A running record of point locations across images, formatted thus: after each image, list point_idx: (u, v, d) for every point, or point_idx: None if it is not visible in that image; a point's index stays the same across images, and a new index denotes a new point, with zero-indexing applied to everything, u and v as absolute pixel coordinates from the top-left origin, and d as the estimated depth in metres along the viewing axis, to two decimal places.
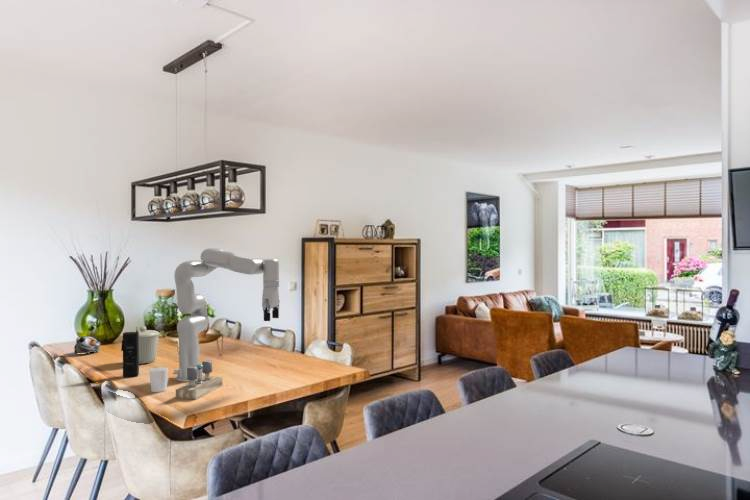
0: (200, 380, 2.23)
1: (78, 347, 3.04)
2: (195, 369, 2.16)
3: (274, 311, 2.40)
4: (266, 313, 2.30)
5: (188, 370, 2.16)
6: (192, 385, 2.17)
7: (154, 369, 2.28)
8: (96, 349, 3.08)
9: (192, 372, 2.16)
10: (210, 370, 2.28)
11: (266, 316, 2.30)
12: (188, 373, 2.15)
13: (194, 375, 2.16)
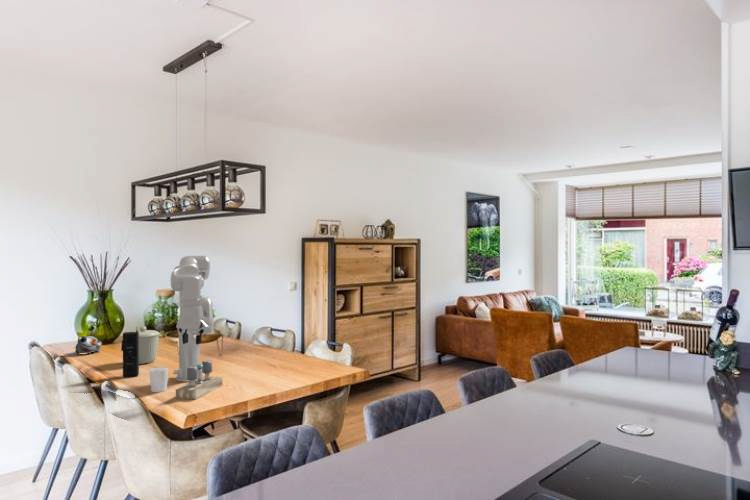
0: (200, 380, 2.23)
1: (79, 347, 3.04)
2: (195, 369, 2.16)
3: (185, 336, 2.18)
4: (200, 335, 2.17)
5: (188, 370, 2.16)
6: (192, 385, 2.17)
7: (154, 369, 2.28)
8: (97, 349, 3.09)
9: (192, 372, 2.16)
10: (210, 370, 2.28)
11: (200, 338, 2.17)
12: (188, 373, 2.15)
13: (194, 375, 2.16)
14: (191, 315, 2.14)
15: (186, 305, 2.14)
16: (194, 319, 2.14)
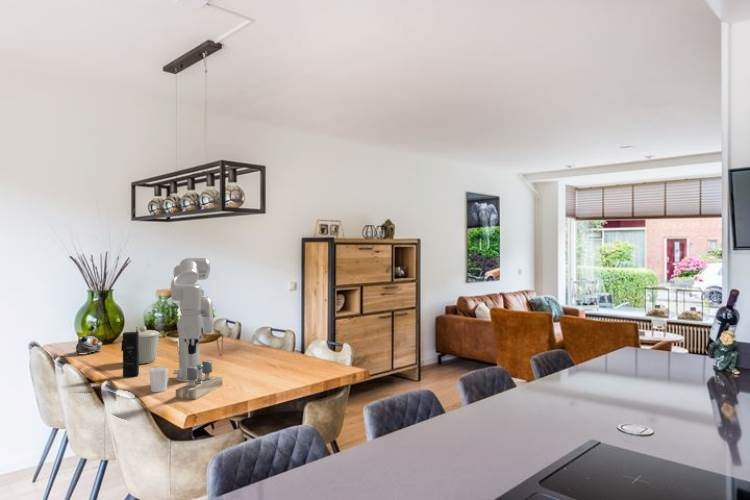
0: (200, 380, 2.23)
1: (80, 347, 3.05)
2: (195, 369, 2.16)
3: None
4: (195, 345, 2.17)
5: (188, 370, 2.16)
6: (192, 385, 2.17)
7: (154, 369, 2.28)
8: (98, 349, 3.09)
9: (192, 372, 2.16)
10: (210, 370, 2.28)
11: (195, 348, 2.17)
12: (188, 373, 2.15)
13: (194, 375, 2.16)
14: (191, 324, 2.14)
15: (186, 314, 2.14)
16: (194, 328, 2.14)
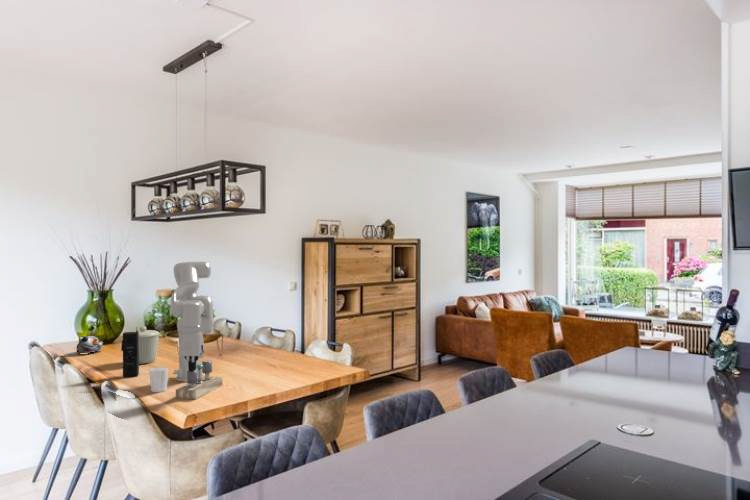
0: (200, 380, 2.23)
1: (81, 347, 3.05)
2: (195, 372, 2.16)
3: None
4: (195, 362, 2.17)
5: (188, 373, 2.16)
6: None
7: (154, 369, 2.28)
8: (98, 348, 3.10)
9: (192, 375, 2.16)
10: (210, 370, 2.28)
11: (195, 365, 2.17)
12: (188, 376, 2.15)
13: (194, 379, 2.16)
14: (191, 342, 2.14)
15: (186, 332, 2.14)
16: (194, 346, 2.14)
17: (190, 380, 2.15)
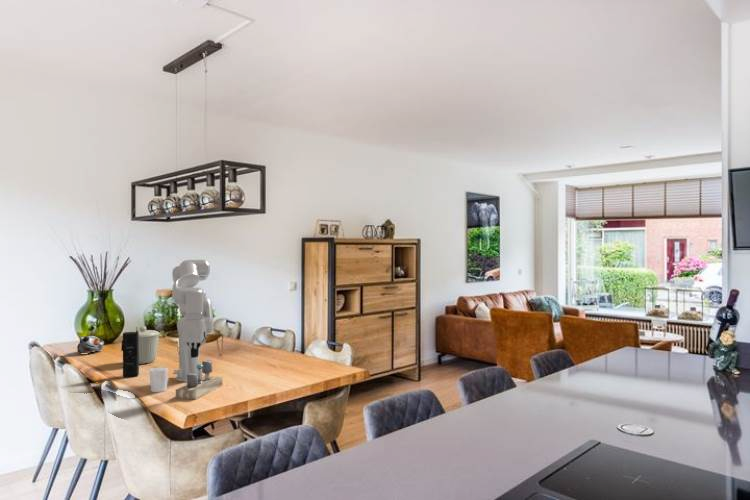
0: (200, 380, 2.23)
1: (82, 346, 3.05)
2: (195, 376, 2.16)
3: None
4: (198, 348, 2.20)
5: (188, 377, 2.16)
6: None
7: (154, 369, 2.28)
8: (99, 348, 3.10)
9: (192, 379, 2.16)
10: (210, 370, 2.28)
11: (197, 352, 2.20)
12: (188, 380, 2.16)
13: (194, 382, 2.16)
14: (194, 329, 2.17)
15: (189, 319, 2.16)
16: (197, 333, 2.16)
17: (190, 384, 2.15)
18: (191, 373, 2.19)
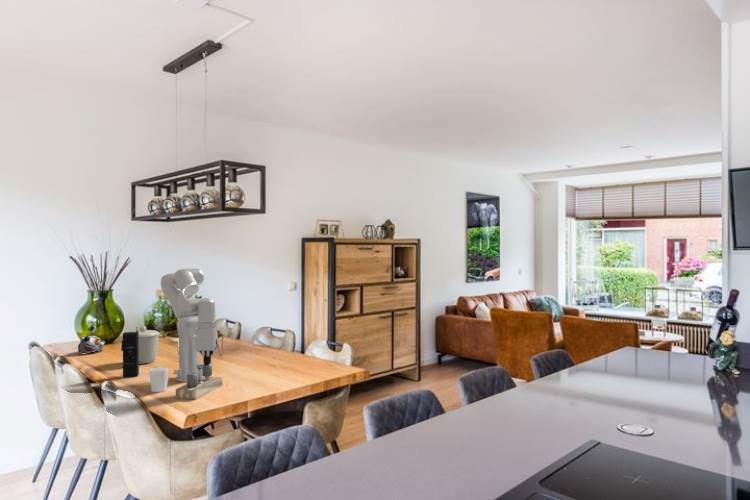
0: (200, 380, 2.23)
1: (82, 346, 3.06)
2: (195, 376, 2.16)
3: None
4: (210, 356, 2.29)
5: (188, 377, 2.16)
6: None
7: (154, 369, 2.28)
8: (100, 348, 3.11)
9: (192, 379, 2.16)
10: (210, 373, 2.28)
11: (210, 359, 2.29)
12: (188, 380, 2.16)
13: (194, 382, 2.16)
14: (206, 337, 2.26)
15: (202, 327, 2.26)
16: (209, 341, 2.26)
17: (190, 384, 2.15)
18: (191, 373, 2.19)
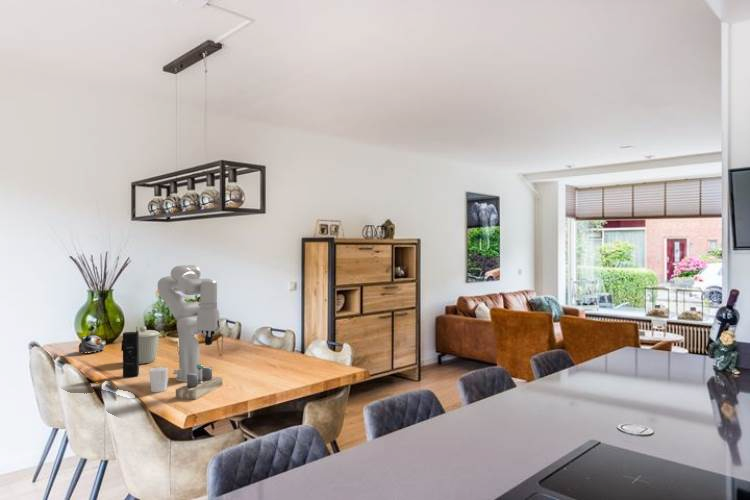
0: (200, 380, 2.23)
1: (83, 346, 3.06)
2: (195, 376, 2.16)
3: None
4: (211, 336, 2.30)
5: (188, 377, 2.16)
6: None
7: (154, 369, 2.28)
8: (101, 348, 3.12)
9: (192, 379, 2.16)
10: (210, 376, 2.28)
11: (211, 339, 2.30)
12: (188, 380, 2.16)
13: (194, 382, 2.16)
14: (208, 317, 2.27)
15: (203, 308, 2.27)
16: (211, 321, 2.27)
17: (190, 384, 2.15)
18: (191, 373, 2.19)
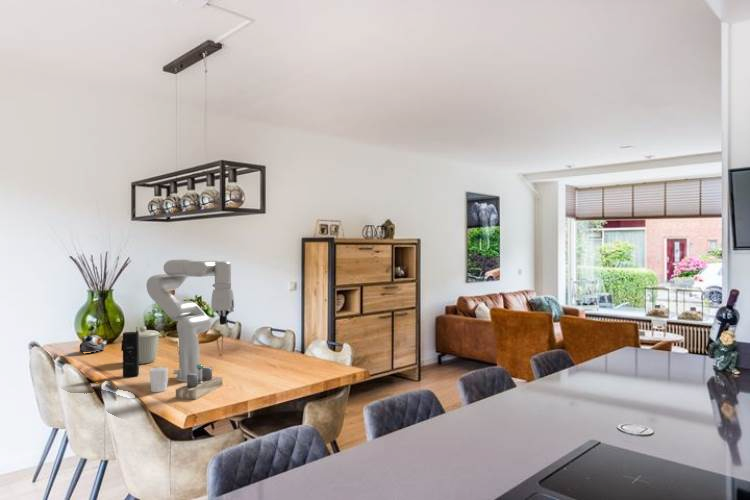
0: (200, 380, 2.23)
1: (84, 346, 3.07)
2: (195, 376, 2.16)
3: None
4: (226, 316, 2.36)
5: (188, 377, 2.16)
6: None
7: (154, 369, 2.28)
8: (102, 348, 3.12)
9: (192, 379, 2.16)
10: (210, 376, 2.28)
11: (226, 319, 2.36)
12: (188, 380, 2.16)
13: (194, 382, 2.16)
14: (223, 297, 2.33)
15: (218, 288, 2.33)
16: (225, 301, 2.33)
17: (190, 384, 2.15)
18: (191, 373, 2.19)
